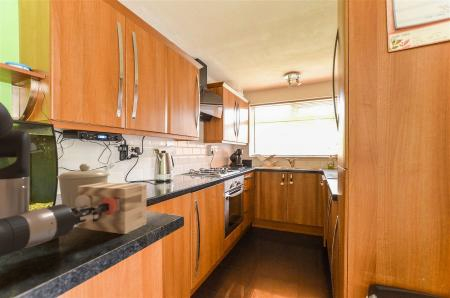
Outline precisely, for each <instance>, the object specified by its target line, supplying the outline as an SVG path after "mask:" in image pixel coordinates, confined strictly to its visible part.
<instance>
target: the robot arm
mask: <svg viewBox="0 0 450 298" xmlns="http://www.w3.org/2000/svg"><path fill="white" fill-rule="evenodd" d="M13 127H14V120H13V117H12V115H11V113H10V112H9V109H8V108H7V107H6V106H5V105H4V104H3V103H2V102H0V159H1V158H5V159H7V158H9V159H10V158H14V159H15V158H16V160H15V161H13V162H12V163H11V164H8V165H6V166H3V167H0V257H3V256H4V257H5V256H6V255H10V254H12V253H14V252H15V253H16V252H17V251H20V250H24V249H26V248H31V247H35V246H37V245H41V244H44V243H46V242H49V241H51V240H54V239H58V238H61V237H63V236H66V235H68V234H70V233H71V231H72V230H73V228H74V227H75V226H78V225H79V224H82V223H84V222H85V221H88V220H90V219H92V220H93V222H97V221H98V220H99V219H100V217H101V216H102V212H106V211H108V210H109V204H108V203H103V204H99V205H95V206H94V205H91V206H87V205H84V206H77V207H69V206H67V205H65V204H62V203H59V204H56V205H51V206H47V207H42V208H36V209H33V210H30V174H31V173H30V171H31V170H30V169H31V168H30V162H31V148H32V138H31V134H30V132H29V131H27V130H14V129H13Z"/></svg>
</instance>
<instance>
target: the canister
mask: <svg viewBox="0 0 450 298" xmlns="http://www.w3.org/2000/svg"><path fill="white" fill-rule="evenodd" d="M90 167H91V166H90V164H88V163H81V164H80V165H79V170H73V171H71V170H70V171H65V172H62V173H61V174H59V175H56V179H57V180H58V182H59V183H58V184H59V192H60V198H61V204H65V205H67V206H69V207H76V205H75V200H76V198H77V197H78V186H84V185H90V184H97V183H108V180H109V176H110V175H111V174H110V173H109V172H107V171H105V170H100V169H99V170H97V169H90Z"/></svg>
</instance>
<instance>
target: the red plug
mask: <svg viewBox="0 0 450 298" xmlns="http://www.w3.org/2000/svg"><path fill="white" fill-rule="evenodd" d="M103 203H108V204H109V210H108V211H106V212H103V213H104V214H105V215H111V214H113V213H115V212H116V211H119V210H120V198H113V197H108V198H104V199H103V200H102V202H101V204H103Z"/></svg>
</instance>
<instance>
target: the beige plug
mask: <svg viewBox="0 0 450 298" xmlns="http://www.w3.org/2000/svg"><path fill="white" fill-rule="evenodd" d="M75 205H76V207H77V206H84V205H87V206H91V205H92V196H88V195H86V194H84V195H79V196H78V197H77V198H76V200H75Z"/></svg>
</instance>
